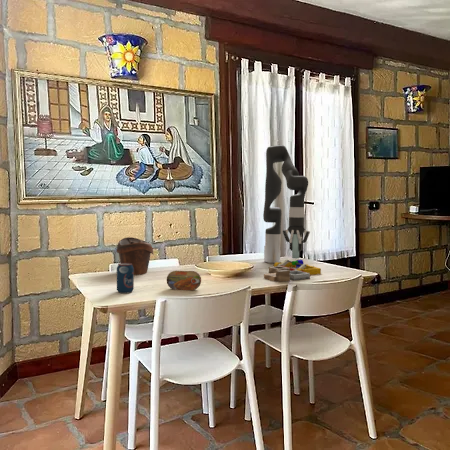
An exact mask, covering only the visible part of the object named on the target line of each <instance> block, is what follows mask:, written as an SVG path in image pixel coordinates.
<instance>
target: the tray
mask: <svg viewBox="0 0 450 450" xmlns="http://www.w3.org/2000/svg"><path fill="white" fill-rule="evenodd" d="M310 276H311V275H310V273H306V272H302V271H298V270H295V271H290V281H291V280H292V281H300V280H309V279H310V278H311V277H310Z"/></svg>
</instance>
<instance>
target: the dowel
mask: <svg viewBox="0 0 450 450" xmlns="http://www.w3.org/2000/svg"><path fill="white" fill-rule="evenodd" d="M291 258H292V259H294V260H298V259H300V251H299V240H298V236H297V234H293V240H292V251H291Z"/></svg>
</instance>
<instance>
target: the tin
mask: <svg viewBox="0 0 450 450" xmlns="http://www.w3.org/2000/svg"><path fill="white" fill-rule="evenodd" d="M201 283H202V277H201V275H200V273H198V271H195V270H173V271H172V270H171V271H170V272H169V273H168V274H167V276H166V284H167V286H168V288H170V289H171V290H174V291H195V290H197V289H198V288H199V287H200V286H201Z"/></svg>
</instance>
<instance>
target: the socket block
mask: <svg viewBox="0 0 450 450" xmlns="http://www.w3.org/2000/svg"><path fill="white" fill-rule="evenodd" d="M290 268H291V267H290ZM290 268H287V267H283V266H276V267H274V266H270V267H268V274H270V273H276V271H278V270H289V271H290Z"/></svg>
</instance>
